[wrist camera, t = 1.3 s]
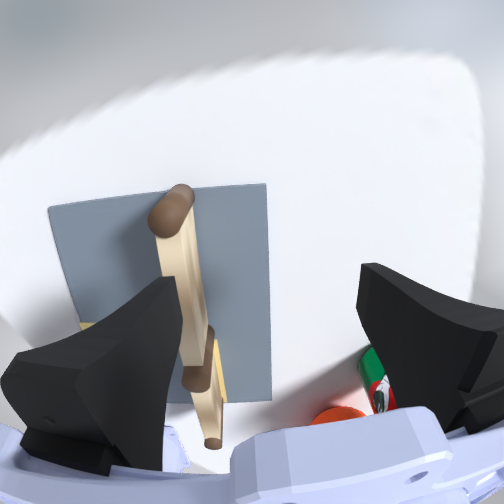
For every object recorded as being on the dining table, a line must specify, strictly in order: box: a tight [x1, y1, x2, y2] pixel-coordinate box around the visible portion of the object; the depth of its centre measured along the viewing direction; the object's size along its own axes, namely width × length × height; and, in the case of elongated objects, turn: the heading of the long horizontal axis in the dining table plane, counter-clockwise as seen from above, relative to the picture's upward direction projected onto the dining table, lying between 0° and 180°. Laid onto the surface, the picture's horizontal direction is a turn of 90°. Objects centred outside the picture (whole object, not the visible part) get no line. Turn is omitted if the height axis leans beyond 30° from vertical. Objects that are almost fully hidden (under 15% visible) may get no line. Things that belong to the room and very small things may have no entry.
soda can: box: [358, 347, 397, 414], centre depth 20 cm, size 5×5×12 cm
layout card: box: [48, 184, 272, 403], centre depth 22 cm, size 19×15×1 cm
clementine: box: [309, 407, 366, 426], centre depth 25 cm, size 8×7×7 cm
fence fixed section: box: [181, 324, 223, 450], centre depth 22 cm, size 9×2×5 cm, turn 3°
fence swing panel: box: [148, 184, 208, 366], centre depth 17 cm, size 10×2×5 cm, turn 3°
